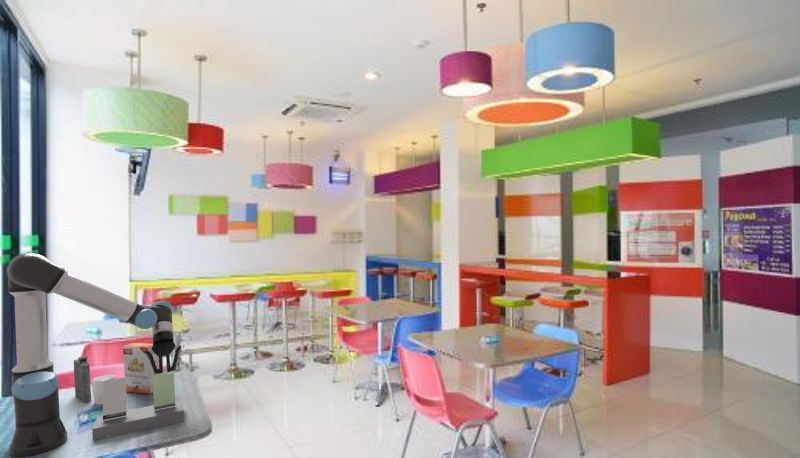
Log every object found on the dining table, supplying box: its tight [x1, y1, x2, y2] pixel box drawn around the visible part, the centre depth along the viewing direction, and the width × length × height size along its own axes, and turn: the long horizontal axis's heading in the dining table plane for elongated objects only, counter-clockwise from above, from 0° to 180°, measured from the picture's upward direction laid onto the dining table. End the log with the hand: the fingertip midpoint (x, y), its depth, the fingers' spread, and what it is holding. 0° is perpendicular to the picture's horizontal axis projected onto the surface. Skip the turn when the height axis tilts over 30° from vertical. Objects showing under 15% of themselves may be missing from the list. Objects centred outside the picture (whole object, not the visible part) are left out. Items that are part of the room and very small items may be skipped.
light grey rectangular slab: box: [102, 376, 127, 420], centre depth 163 cm, size 2×7×13 cm, turn 116°
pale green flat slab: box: [152, 371, 176, 410], centre depth 168 cm, size 2×7×13 cm, turn 118°
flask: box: [73, 355, 92, 404], centre depth 195 cm, size 4×14×18 cm, turn 49°
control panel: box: [91, 399, 185, 441], centre depth 165 cm, size 12×28×4 cm, turn 117°
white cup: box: [91, 374, 115, 406], centre depth 189 cm, size 8×8×10 cm
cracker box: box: [122, 342, 159, 395], centre depth 200 cm, size 14×6×21 cm, turn 73°
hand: (165, 388), depth 170 cm, fingers closed
